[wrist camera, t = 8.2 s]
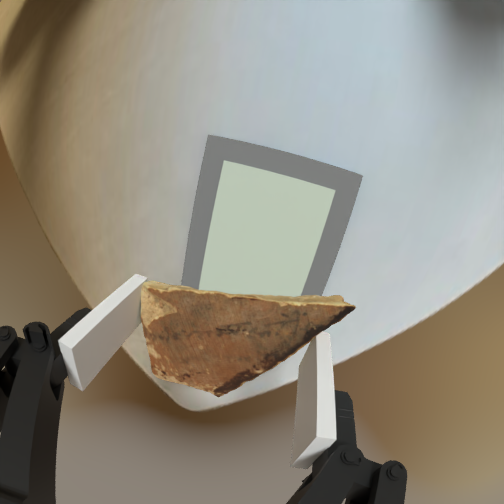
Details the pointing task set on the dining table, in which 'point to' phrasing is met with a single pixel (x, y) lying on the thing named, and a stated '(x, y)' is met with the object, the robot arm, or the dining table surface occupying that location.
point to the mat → (266, 221)
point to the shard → (228, 332)
